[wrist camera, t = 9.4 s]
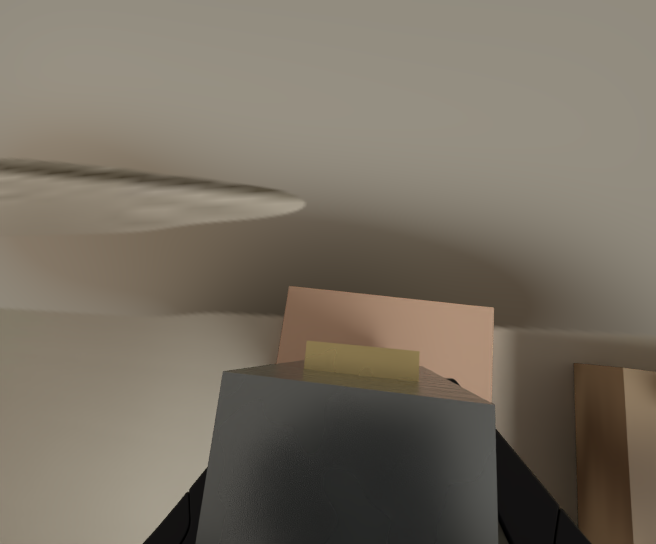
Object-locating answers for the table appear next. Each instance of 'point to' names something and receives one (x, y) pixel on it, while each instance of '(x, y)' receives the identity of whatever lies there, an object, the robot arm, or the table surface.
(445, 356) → the rubber mat
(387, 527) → the dark gray rectangular block
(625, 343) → the table surface
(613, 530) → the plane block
